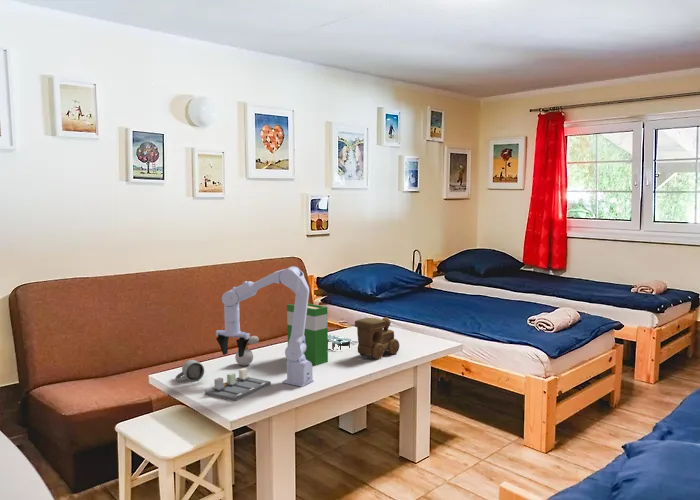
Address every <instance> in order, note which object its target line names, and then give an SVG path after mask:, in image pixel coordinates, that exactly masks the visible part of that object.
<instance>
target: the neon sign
mask: <svg viewBox="0 0 700 500" xmlns="http://www.w3.org/2000/svg"><path fill="white" fill-rule="evenodd" d="M331 339H333V340H331ZM357 341H358V340H357ZM357 341H354V340H353V341H352V339H351V338H347V337H343V336H342V337H341V336H336V335H332V334H328V342H332V349H333V350H334V347H335V344H337V345H338V347H339V346H340V350H341V346H349V348H350V343H351V344H353V343H358V342H357ZM341 343H342V344H341ZM330 351H331V352H333V351H332V350H330Z"/></svg>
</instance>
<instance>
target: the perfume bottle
mask: <svg viewBox="0 0 700 500" xmlns="http://www.w3.org/2000/svg"><path fill="white" fill-rule="evenodd" d="M259 341H260V340H259V337H258V336H257V335H251V336H250V338H249V341H248V343H247V345H246V347H245V351H244V356H242V357H239V353H238V350H237V351H236V353H235V362H236V363H237V364H238V365H240V366H243V367H245V366H248V365H250V364H252V362H253V359H254V353H253V351H252V350H251V349H250V348H249V347H248V344H249V345H256V344H258V343H259Z"/></svg>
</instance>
